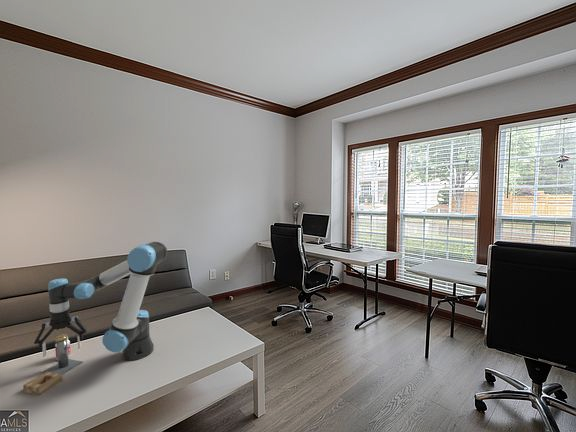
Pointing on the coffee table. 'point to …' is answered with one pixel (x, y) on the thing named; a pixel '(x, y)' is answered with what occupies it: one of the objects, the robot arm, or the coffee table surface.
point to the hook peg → (62, 351)
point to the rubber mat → (63, 370)
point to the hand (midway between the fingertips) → (62, 351)
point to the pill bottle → (67, 347)
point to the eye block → (38, 389)
